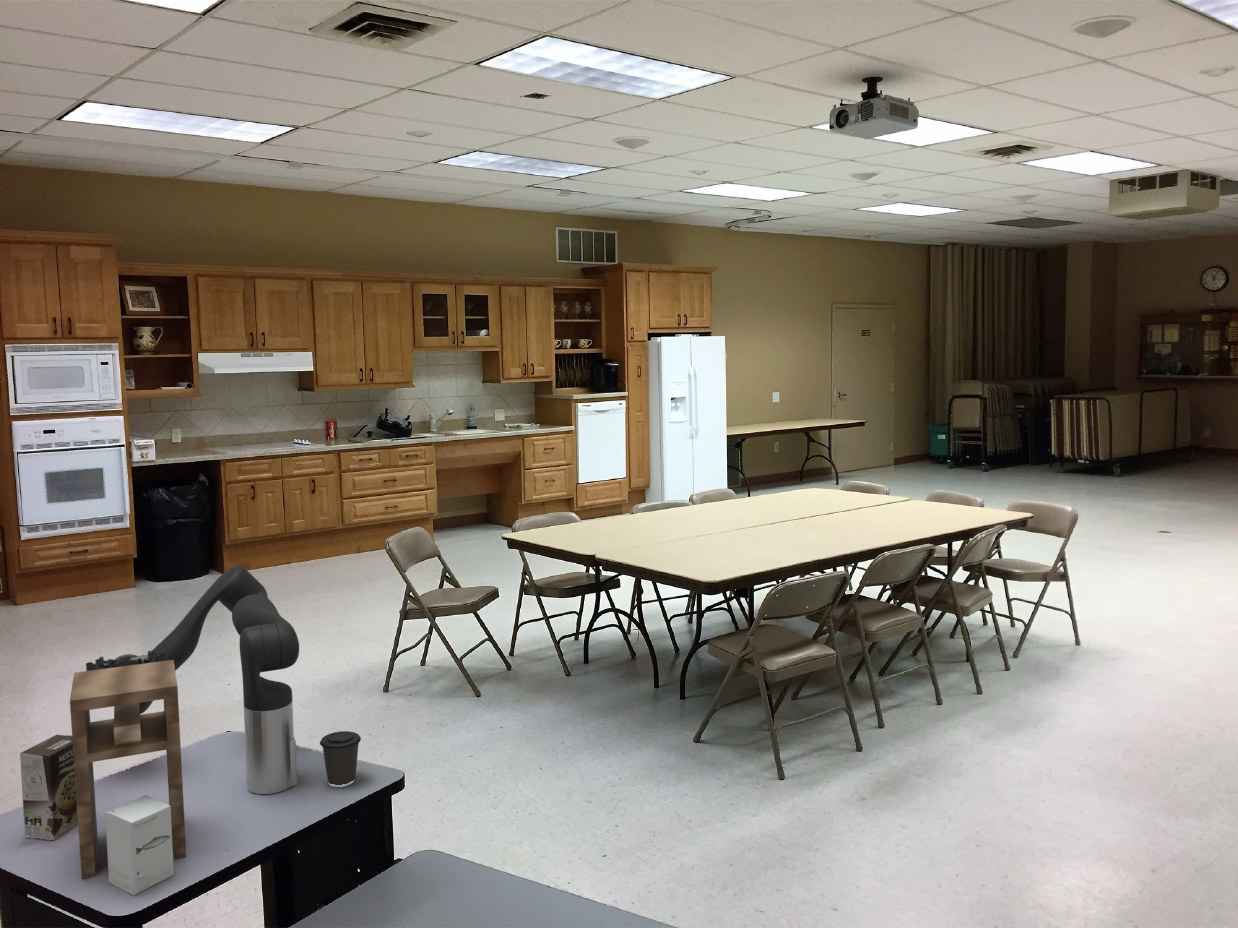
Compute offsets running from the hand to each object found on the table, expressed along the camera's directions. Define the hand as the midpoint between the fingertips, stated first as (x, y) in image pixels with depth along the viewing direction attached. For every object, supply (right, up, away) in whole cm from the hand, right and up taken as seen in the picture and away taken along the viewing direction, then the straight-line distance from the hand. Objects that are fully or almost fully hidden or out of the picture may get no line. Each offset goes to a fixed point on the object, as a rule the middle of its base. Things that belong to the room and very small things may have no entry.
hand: (125, 658), depth 190 cm
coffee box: (-6, -29, -12) cm, 32 cm away
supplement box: (+17, -31, -29) cm, 46 cm away
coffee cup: (+40, -27, +8) cm, 49 cm away
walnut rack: (+11, -30, -18) cm, 37 cm away
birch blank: (+9, -8, -17) cm, 21 cm away
